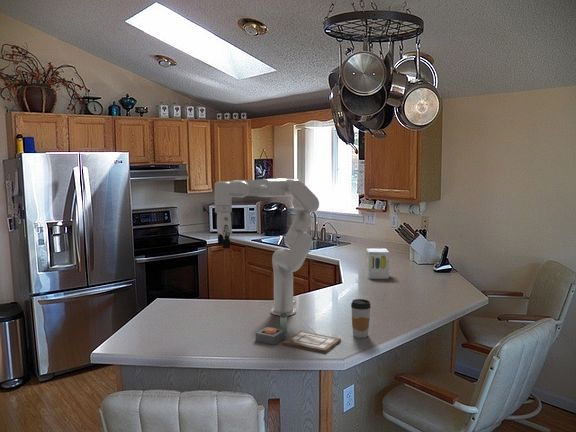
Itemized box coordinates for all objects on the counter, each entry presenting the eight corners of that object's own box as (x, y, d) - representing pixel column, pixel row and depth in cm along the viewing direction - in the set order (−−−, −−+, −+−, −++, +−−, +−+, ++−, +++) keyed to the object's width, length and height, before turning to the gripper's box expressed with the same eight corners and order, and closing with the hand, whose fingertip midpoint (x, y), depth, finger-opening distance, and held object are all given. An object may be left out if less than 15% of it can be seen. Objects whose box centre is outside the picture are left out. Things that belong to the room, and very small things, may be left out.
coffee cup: (368, 332, 216) (368, 298, 214) (371, 338, 207) (372, 304, 206) (349, 332, 215) (349, 298, 214) (352, 339, 207) (352, 304, 205)
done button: (268, 331, 210) (268, 326, 210) (278, 333, 207) (278, 328, 207) (262, 335, 205) (262, 330, 205) (272, 337, 203) (272, 332, 203)
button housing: (267, 334, 213) (267, 326, 212) (285, 337, 208) (285, 330, 208) (255, 340, 205) (255, 332, 205) (274, 344, 201) (274, 336, 200)
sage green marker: (282, 330, 218) (282, 312, 217) (288, 331, 217) (288, 313, 216) (278, 332, 216) (278, 314, 215) (284, 333, 214) (284, 315, 213)
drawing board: (300, 333, 214) (300, 330, 214) (340, 341, 204) (340, 338, 204) (282, 344, 201) (282, 341, 201) (325, 353, 191) (325, 350, 191)
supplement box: (367, 278, 314) (368, 251, 313) (365, 274, 328) (365, 248, 326) (388, 278, 314) (389, 251, 312) (385, 274, 327) (386, 248, 325)
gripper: (236, 210, 216) (236, 249, 218) (226, 207, 232) (227, 243, 234) (219, 211, 213) (220, 250, 215) (211, 207, 229) (211, 244, 231)
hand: (223, 246), depth 224 cm, fingers open, 9 cm apart
